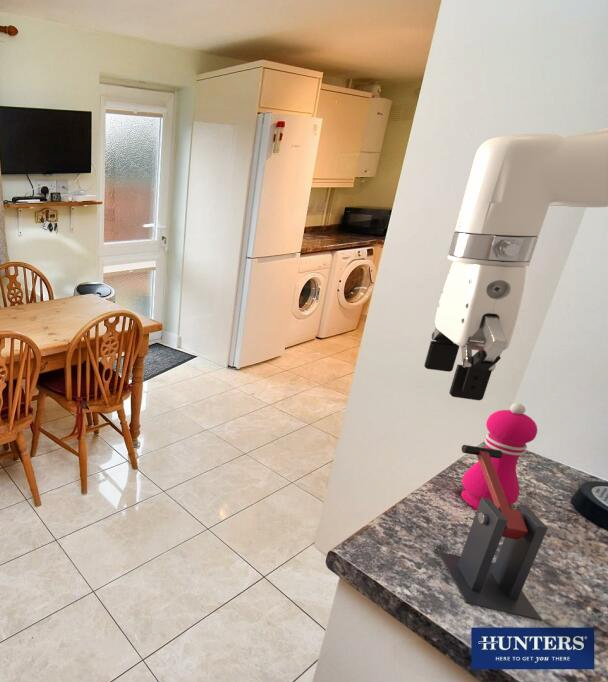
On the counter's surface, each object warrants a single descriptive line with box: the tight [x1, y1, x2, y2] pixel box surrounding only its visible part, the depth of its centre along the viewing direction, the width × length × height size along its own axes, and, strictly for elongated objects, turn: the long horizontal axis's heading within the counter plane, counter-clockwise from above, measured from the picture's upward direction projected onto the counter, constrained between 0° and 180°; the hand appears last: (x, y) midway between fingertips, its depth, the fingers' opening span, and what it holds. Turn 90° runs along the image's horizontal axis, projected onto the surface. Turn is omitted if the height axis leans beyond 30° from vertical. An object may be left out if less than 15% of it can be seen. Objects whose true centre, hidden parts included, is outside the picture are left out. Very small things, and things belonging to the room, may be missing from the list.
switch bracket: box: [437, 498, 548, 622], centre depth 58 cm, size 9×8×13 cm
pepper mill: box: [460, 402, 538, 512], centre depth 73 cm, size 7×7×20 cm
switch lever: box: [461, 444, 528, 540], centre depth 61 cm, size 13×4×2 cm, turn 162°
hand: (450, 382), depth 58 cm, fingers open, 9 cm apart
